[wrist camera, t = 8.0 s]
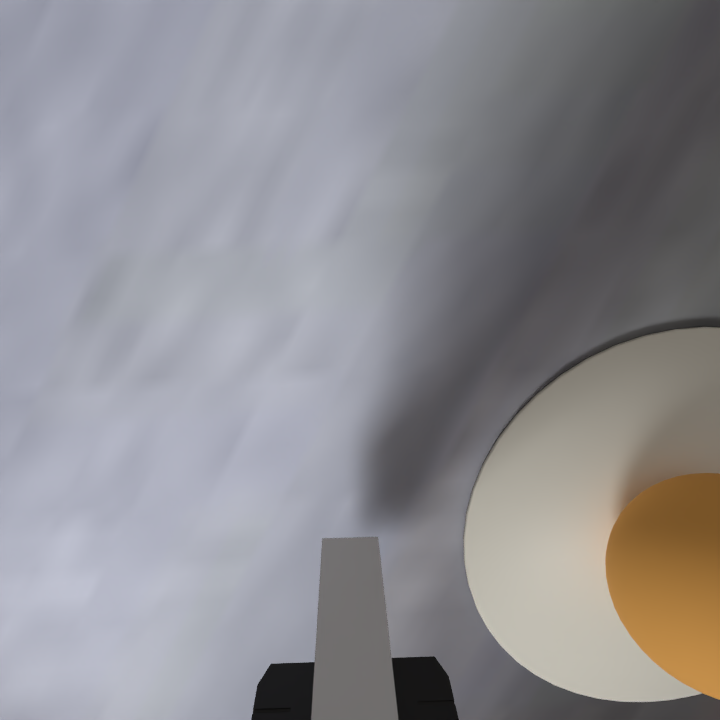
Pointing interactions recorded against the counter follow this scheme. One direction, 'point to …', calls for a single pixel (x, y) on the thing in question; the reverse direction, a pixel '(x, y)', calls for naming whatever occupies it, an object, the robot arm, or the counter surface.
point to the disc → (587, 506)
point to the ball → (671, 576)
